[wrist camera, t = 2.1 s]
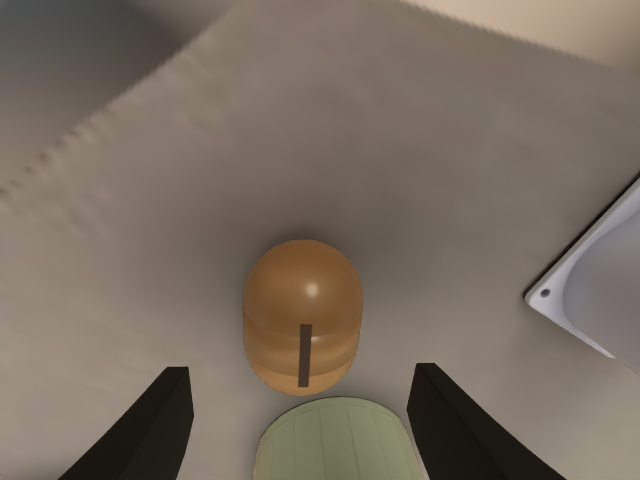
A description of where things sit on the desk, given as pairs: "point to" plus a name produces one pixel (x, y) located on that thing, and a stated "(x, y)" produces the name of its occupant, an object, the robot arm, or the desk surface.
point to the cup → (337, 444)
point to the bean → (302, 317)
